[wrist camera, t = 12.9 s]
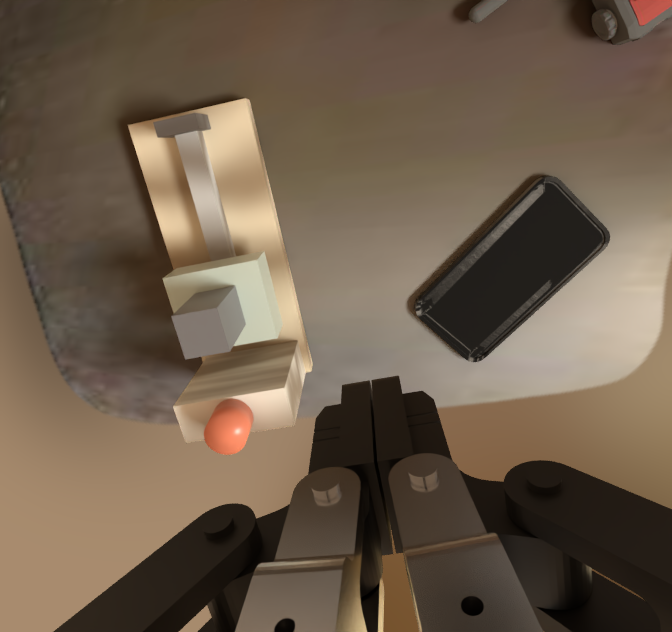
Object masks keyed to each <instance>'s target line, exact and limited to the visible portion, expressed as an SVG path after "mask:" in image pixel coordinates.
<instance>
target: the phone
mask: <svg viewBox="0 0 672 632" xmlns="http://www.w3.org/2000/svg"><path fill="white" fill-rule="evenodd" d="M609 241H610V234H609V231H608V230H607V228H606V227H605V226H604V225H603V224H602V223H601V222H600V221H599V220H598V219H597V218H596V217H595V216H594V215H593V214H592V213H591V212H590V211H589V210H588V209H587V208H586V206H585V205H584V204H583V203H582V202H581V201H580V200H579V199H578V198H577V197H576V196H575V195H574V194H573V193H572V192H571V191H570V190H569V189H568V188H567V187H566V186H565V185H564V184H563V183H562V181H561V180H559V179H558V178H556V177H553V176H542V177H540V178H538V179H537V180H535V181H534V182H533V183H532V184H531V185H530V186H529V187H528V188H527V189H526V190H525V191H524V192H523V193H522V194H521V195H520V196H519V197H518V198H517V199H516V200H515V201H514V202H513V203H512V204H511V205H510V206H509V207H508V208H507V209H506V210H505V211H504V212H503V213H502V214H501V215H500V216H499V217H498V218H497V219H496V220H495V221H494V222H493V223H492V224H491V225H490V226H489V227H488V228H487V229H486V230H485V231H484V232H483V233H482V234H481V235H480V236H479V237H478V238H477V239H476V240H475V241H474V242H473V243H472V244H471V245H470V246H469V247H468V248H467V249H466V250H465V251H464V252H463V253H462V254H461V255H460V256H459V257H458V258H457V259H456V260H455V261H454V262H453V263H452V264H451V265H450V266H449V267H448V268H447V269H446V270H445V271H444V272H443V273H442V274H441V275H440V276H439V277H438V278H437V279H436V280H435V281H434V282H433V283H432V284H431V285H430V286H429V287H428V288H427V289H426V290H425V291H424V292H423V293H422V294H421V295H420V296H419V297H418V299H417V300H416V302H415V311H416V313H417V316H418V317H419V318H420V319H421V320H422V321H423V322H424V323H425V324H426V325H428V326H429V327H430V328H431V329H432V330H433V331H434V332H435V333H437V334H438V335H439V336H440V337H441V338H442V339H443V340H444V341H446V342H447V343H448V344H449V345H450V346H451V347H452V348H453V349H455V350H456V351H457V352H458V353H459V354H460V355H461V356H462V357H464V358H465V359H466V360H468V361H470V362H478V361H481V360H483V359H484V358H485V357H486V356H488V355H489V354H490V353H491V352H492V351H493V350H494V349H495V348H496V347H497V346H499V345H500V344H501V343H502V342H503V341H504V340H505V339H506V338H507V337H508V336H510V335H511V334H512V333H513V332H514V331H515V330H516V329H517V328H518V327H519V326H521V325H522V324H523V323H524V322H525V321H526V320H527V319H528V318H529V317H530V316H532V315H533V314H534V313H535V312H536V311H537V310H538V309H539V308H540V307H541V306H543V305H544V304H545V303H546V302H547V301H548V300H549V299H550V298H551V297H552V296H554V295H555V294H556V293H557V292H558V291H559V290H560V289H561V288H562V287H563V286H565V285H566V284H567V283H568V282H569V281H570V280H571V279H572V278H573V277H575V276H576V275H577V274H578V273H579V272H580V271H581V270H582V269H583V268H584V267H586V266H587V265H588V264H589V263H590V262H591V261H592V260H593V259H594V258H595V257H597V256H598V255H599V254H600V253H601V252H602V251H603V250H604V249H605V248H606V247H607V246H608V243H609Z"/></svg>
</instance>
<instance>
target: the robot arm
mask: <svg viewBox="0 0 672 632" xmlns="http://www.w3.org/2000/svg"><path fill="white" fill-rule="evenodd" d="M314 432H315V433H314V436H313V444H312V452H311V458H310V465H309V473H308V475H307V476H305V477H304V478H303V479H302V480H301V481H300V482H299V483H298V484H297V486H296V487H295V489H294V491H293V495H292V498H291V502H290V504H289V505H288V506H286V507H284V508H282V509H280V510H278V511H275V512H273V513H270V514H268V515H265V516H262V517H260V518H257V519H256V517H255V514H254V512H253V511H252V509H251V508H249V507H248V506H246V505H243V504H226V505H222V506H218V507H216V508H213V509H211V510H209V511H207V512H205V513H204V514H202V515H201V516H200V517H198V518H197V519H196V520H194V521H193V522H192V523H191V524H189V525H188V526H187V527H186V528H184V529H183V530H182V531H180V532H179V533H178V534H177V535H175V536H174V537H173V538H172V539H170V540H169V541H168V542H167V543H165V544H164V545H163V546H162V547H160V548H159V549H158V550H156V551H155V552H154V553H153V554H151V555H150V556H149V557H148V558H146V559H145V560H144V561H142V562H141V563H140V564H139V565H137V566H136V567H135V568H134V569H132V570H131V571H130V572H128V573H127V574H126V575H125V576H123V577H122V578H121V579H120V580H118V581H117V582H116V583H115V584H113V585H112V586H111V587H109V588H108V589H107V590H106V591H104V592H103V593H102V594H101V595H99V596H98V597H97V598H95V599H94V600H93V601H92V602H91V603H89V604H88V605H87V606H85V607H84V608H83V609H82V610H80V611H79V612H78V613H76V614H75V615H74V616H73V617H72V618H71V619H69V620H68V621H66V622H65V623H64V624H63V625H61V626H60V627H59V628H57V629H56V630H55V631H54V632H178V631H180V630H181V629H182V628H183V627H184V626H185V625H186V624H187V623H188V622H189V621H190V620H191V619H192V618H193V617H194V616H196V614H198V613H199V612H200V611H201V610H202V609H203V608H204V607H205V606H206V605H207V606H208V608H209V611H210V613H211V616H212V618H211V619H210V620H209V621H208V622H207V623H206V624H205V625H204V626H203V627H202V628H201V629H200V630H199V631H198V632H383V613H384V585H383V581H382V573H383V567H382V566H383V565H382V555H389V554H393V548H392V537H391V530H392V535H393V540H394V545H395V549H396V553H403V555H404V560H405V565H406V570H407V575H408V580H409V585H410V590H411V595H412V599H413V604H414V609H415V613H416V618H417V622H418V627H419V632H543V631H544V632H672V509H670V508H667V507H665V506H662V505H660V504H658V503H655V502H653V501H650V500H648V499H646V498H643V497H641V496H638V495H636V494H634V493H631V492H629V491H626V490H624V489H622V488H619V487H617V486H614V485H612V484H610V483H607V482H605V481H602V480H600V479H597V478H595V477H593V476H590V475H588V474H585V473H583V472H581V471H578V470H576V469H574V468H571V467H569V466H566V465H564V464H561V463H557V462H552V461H541V460H540V461H530V462H525V463H522V464H519V465H517V466H515V467H514V468H512V469H511V470H510V471H509V472H508V473H507V474H506V476H505V479H504V482H498V481H488V480H481V479H477V478H474V477H471V476H469V475H467V474H464V473H463V472H462V471H460V470H459V469H458V467H457V465H456V464H455V463H454V462H453V461H452V458H451V455H450V451H449V448H448V445H447V442H446V438H445V435H444V432H443V429H442V425H441V422H440V418H439V415H438V413H437V408H436V405H435V402H434V399H432V398H431V397H430V396H429V395H427V394H426V393H425V392H423V391H418V392H412V393H406V394H402V390H401V384H400V379H399V376H393V377H387V378H381V379H375V380H372V388H371V384H370V381H363V382H357V383H351V384H345V385H342V397H341V404H338V405H332V406H326V407H325V408H324V409H323V410H322V411H321V413H320V414H319V415H318V416H317V418H316V422H315V429H314ZM390 525H391V526H390ZM592 569H594V570H596V571H598V572H599V573H601V574H603V575H605V576H606V577H608V578H610V579H612V580H614V581H615V582H617V583H619V584H621V585H622V586H624V587H626V588H628V589H629V590H631V591H633V592H635V593H636V594H638V595H639V596H641V597H642V598H643V599H644V600H643V599H641V598H639V597H638V596H636V595H634V594H632V593H631V592H628V591H627V590H625V589H624V588H622V587H620V586H618V585H616V584H615V583H613V582H611V581H609V580H607V579H606V578H604V577H602V576H601V575H599V574H597V573H595V572H594V571H592Z"/></svg>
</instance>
